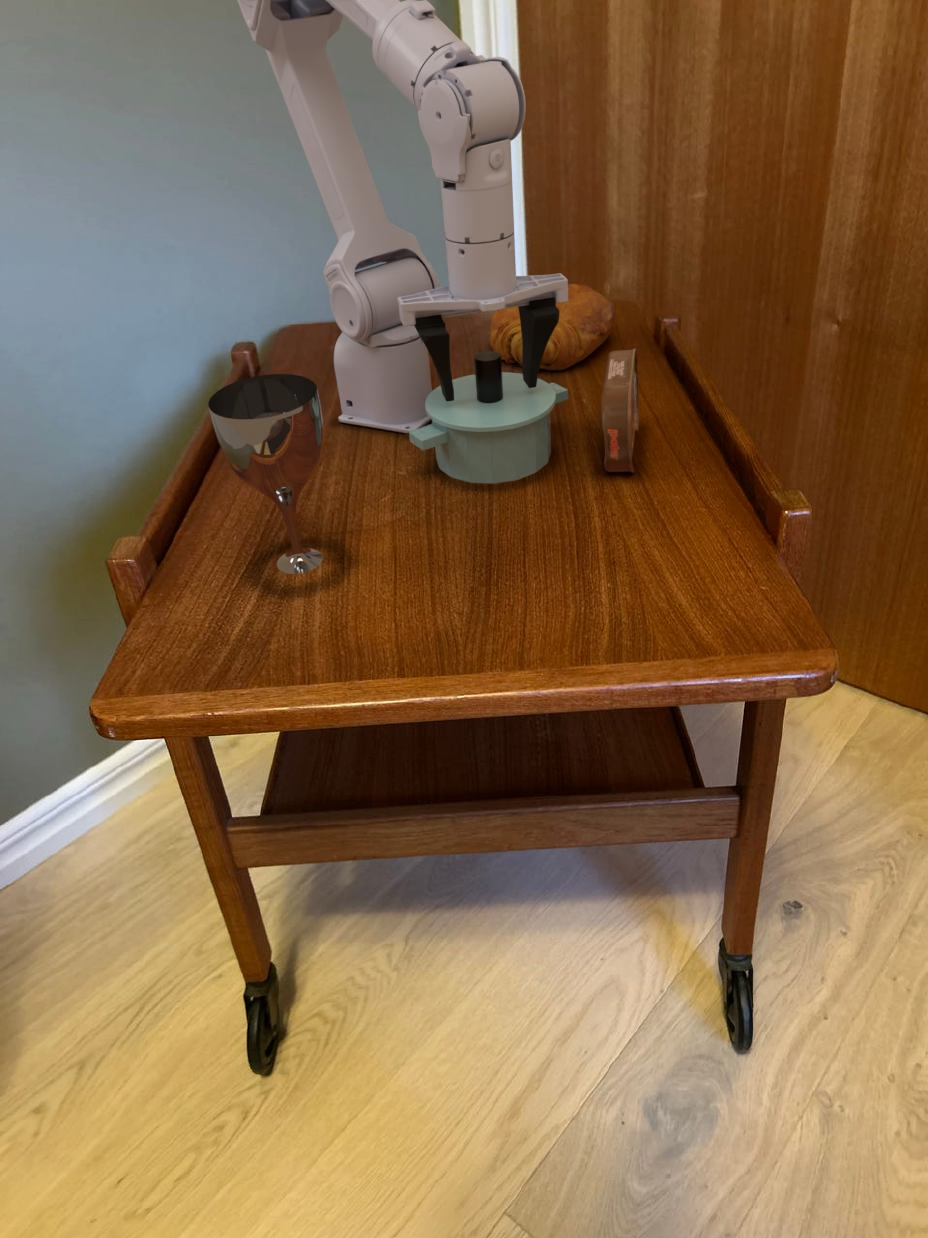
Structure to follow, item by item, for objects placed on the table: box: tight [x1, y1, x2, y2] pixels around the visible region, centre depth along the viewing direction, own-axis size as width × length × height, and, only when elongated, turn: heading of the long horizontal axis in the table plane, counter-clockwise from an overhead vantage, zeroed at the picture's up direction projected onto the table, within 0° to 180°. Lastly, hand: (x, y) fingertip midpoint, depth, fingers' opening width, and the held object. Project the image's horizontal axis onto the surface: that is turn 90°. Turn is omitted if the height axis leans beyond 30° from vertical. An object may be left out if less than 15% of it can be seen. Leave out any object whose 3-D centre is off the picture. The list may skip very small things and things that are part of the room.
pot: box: [408, 382, 569, 485], centre depth 86 cm, size 11×16×6 cm
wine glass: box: [207, 373, 324, 575], centre depth 71 cm, size 8×8×15 cm
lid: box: [425, 350, 556, 432], centre depth 83 cm, size 12×12×5 cm
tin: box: [600, 348, 640, 474], centre depth 85 cm, size 15×3×8 cm, turn 168°
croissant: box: [489, 283, 617, 372], centre depth 107 cm, size 14×16×8 cm
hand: (489, 390), depth 83 cm, fingers open, 7 cm apart
